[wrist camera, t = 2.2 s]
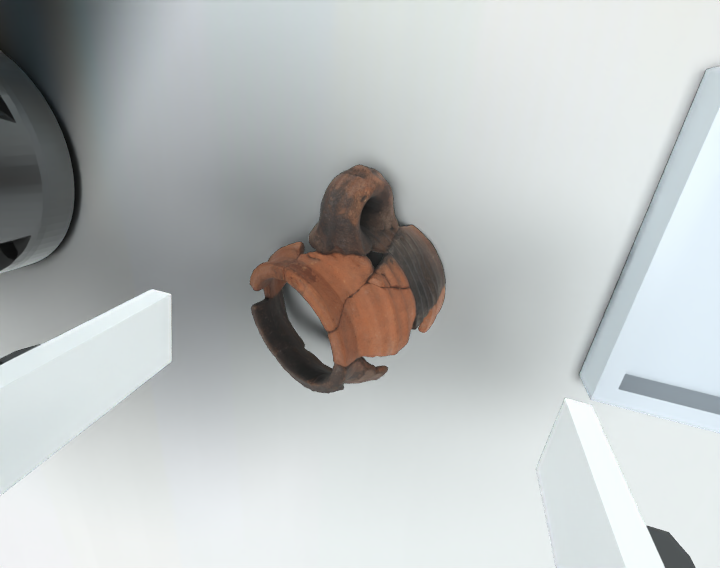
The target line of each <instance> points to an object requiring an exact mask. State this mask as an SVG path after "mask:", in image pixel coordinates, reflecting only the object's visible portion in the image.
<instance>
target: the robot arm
mask: <svg viewBox="0 0 720 568" xmlns="http://www.w3.org/2000/svg"><path fill="white" fill-rule="evenodd" d="M73 208H74V176H73V169H72V164H71V159H70V155H69V151H68V148H67V145H66V142H65V139H64V136H63V133H62V131H61V129H60V126H59V124H58V122H57V120H56V118H55V116H54V114H53V112H52V110H51V108H50V107H49V105H48V103H47V102H46V100H45V98H44V97H43V95H42V94H41V92H40V91H39V90H38V88H37V87H36V86H35V84H34V83H33V82H32V80H31V79H30V78H29V77H28V76H27V75H26V73H25V72H24V71H23V70H22V69H21V68H20V67H19V66H18V65H17V64H16V63H15V62H14V61H12V60H11V59H10V58H9V57H8V56H7V55H5V54H4V53H3V52H2V51H0V273H3V272H7V271H11V270H14V269H17V268H20V267H23V266H27V265H30V264H33V263H36V262H38V261H40V260H42V259H44V258H46V257H47V256H48V255H50V254H51V253H52V252H53V251H54V250H55V249H56V248H57V247H58V246H59V244H60V243H61V242H62V240H63V238H64V237H65V235H66V233H67V230H68V228H69V225H70V222H71V218H72V214H73ZM171 362H172V319H171V294H169V293H165V292H162V291H158V290H154V289H151V290H149V291H147V292H145V293H143V294H141V295H139V296H137V297H135V298H133V299H131V300H129V301H127V302H125V303H123V304H121V305H119V306H117V307H115V308H113V309H111V310H109V311H107V312H105V313H103V314H101V315H99V316H97V317H95V318H93V319H91V320H89V321H87V322H85V323H83V324H81V325H79V326H77V327H75V328H73V329H71V330H69V331H67V332H65V333H63V334H61V335H59V336H57V337H55V338H53V339H51V340H49V341H47V342H45V343H43V344H39V345H35V346H32V347H28V348H25V349H21V350H18V351H15V352H13V353H11V354H9V355H7V356H5V357H3V358H1V359H0V496H1V495H2V494H3V493H4V492H6V491H7V490H8V489H10V488H11V487H12V486H13V485H15V484H16V483H17V482H19V481H20V480H21V479H22V478H24V477H25V476H26V475H27V474H29V473H30V472H31V471H33V470H34V469H35V468H36V467H38V466H39V465H40V464H42V463H43V462H44V461H45V460H47V459H48V458H49V457H51V456H52V455H53V454H54V453H56V452H57V451H58V450H59V449H61V448H62V447H63V446H65V445H66V444H67V443H68V442H70V441H71V440H72V439H74V438H75V437H76V436H77V435H79V434H80V433H81V432H82V431H84V430H85V429H86V428H88V427H89V426H90V425H91V424H93V423H94V422H95V421H97V420H98V419H99V418H100V417H102V416H103V415H104V414H106V413H107V412H108V411H109V410H111V409H112V408H113V407H114V406H116V405H117V404H118V403H120V402H121V401H122V400H123V399H125V398H126V397H127V396H129V395H130V394H131V393H132V392H134V391H135V390H136V389H137V388H139V387H140V386H141V385H143V384H144V383H145V382H146V381H148V380H149V379H150V378H152V377H153V376H154V375H155V374H157V373H158V372H159V371H161V370H162V369H163V368H164V367H166V366H167V365H168V364H169V363H171ZM536 471H537V476H538V481H539V486H540V491H541V496H542V501H543V506H544V511H545V516H546V521H547V526H548V531H549V536H550V541H551V546H552V551H553V556H554V561H555V566H556V568H695V566H694V564H693V562H692V560H691V558H690V556H689V555H688V554H687V553H686V552H685V550H684V549H683V548H682V547H681V546H680V545H679V543H678V542H677V541H676V540H675V539H674V538H673V537H672V535H671V534H670V533H669V532H666V531H663V530H660V529H656V528H653V527H650V526H646V524H645V522H644V520H643V518H642V515H641V513H640V511H639V509H638V507H637V504H636V502H635V500H634V498H633V495H632V493H631V491H630V489H629V486H628V484H627V482H626V480H625V478H624V475H623V473H622V471H621V469H620V466H619V464H618V462H617V460H616V457H615V455H614V453H613V451H612V449H611V446H610V444H609V442H608V440H607V437H606V435H605V433H604V431H603V428H602V426H601V424H600V422H599V420H598V417H597V415H596V413H595V411H594V408H593V406H592V405H590V404H587V403H583V402H579V401H575V400H571V399H568V398H565V399H564V401H563V404H562V406H561V408H560V411H559V413H558V416H557V418H556V421H555V423H554V425H553V428H552V430H551V433H550V435H549V438H548V440H547V442H546V445H545V447H544V450H543V452H542V455H541V457H540V460H539V462H538V464H537V467H536Z"/></svg>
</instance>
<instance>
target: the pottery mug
mask: <svg viewBox="0 0 720 568" xmlns="http://www.w3.org/2000/svg"><path fill="white" fill-rule="evenodd" d="M309 243H310V245H311V246H312V247H313V248H314V249H315V250H316V251H314V252H309V253H307V254H304V249H305V246H304V244H303V243H302V242H296V243H292V244H289V245H287V246H284V247H281V248H280V249H279V250H277V251H276V252H275V253H274V254H273V255H272V256H271V257H270V258H269V260H268V262H265V263H262V264H260V265H259V266H257V267H256V269H254V270H253V273H252V275H251V278H250V285H251V286H252V288H253V290H255V291H259V290H261V289H263V288H264V294H265V299H264V300H262V301H260V302H258V303H256V304H254V305H253V306H252V307H251V311H252V315H253V318H254V321H255V324H256V326H257V328H258V330H259V333H260V335H261V336H262V338H263V340H264V342H265V344H266V345H267V347H268V348H269V350H270V351H271V353H272V354H273V355H274V356H275V357H276V359H277V361H278V362H279V363H280V364H281V366H282V367H283V368H284V369H285V370H286V371H287V372H288V373H289V374H290V375H291V376H292V377H293V378H294V379H295V380H297V381H298V382H299V383H301V384H302V385H303V386H304V387H306V388H309V389H311V390H312V391H317V392H321V393H330V392H335V391H338V390H343V389H344V386H343V384H344V383H349V384H350V383H362V382H366V381H370V380H377V379H378V378H380V377H382V376H383V375H384V374H385V373H386V372H387V370H388V367H386V366H377V367H375V366H374V365H371V364H369V363H368V362H366V360H365V359H364V358H363V356H366V357H375V356H380V357H382V356H388V355H395V354H397V353H398V351H399V350H401V349H402V348H403V347H404V346H405V345H406V344H407V343H408V340H409V335H410V331H411V329H413V330H414V329H416V328H417V327H418V326H419V328H418V330H419V331H420V332H423V333H425V332H426V331H427V330H428V329H429V328H430V327H431V325H432V324H433V322H434V320H435V318H436V315H437V314H438V313H439V311H440V309H441V307H442V305H443V302H444V297H445V275H444V271H443V266H442V263H441V261H440V259H439V256H438V254H437V252H436V250H435V248H434V246H433V245H432V243H431V242H430V241H429V240H428V239H427V238H426V237H425V236H424V235H423V233H422V232H420V231H419V230H418V229H417V228H416V227H415V226H413V225H409V226H407V227H406V226H402V227H400V226H399V224H398V221H397V219H396V217H395V213H394V207H393V193H392V189H391V187H390V185H389V183H388V182H387V181H386V180H385V179H384V177H383V176H382V175H381V173H380V172H378V171H377V170H375V169H373V168H368V167H366V166H363V165H356V166H354V167H352V168H350V169H349V170H346V171H344V172H342V173H340V174H339V175H338V176H336V177H335V178H334V179H333V180H332V182H331V183H330V184H329V186H328V187H327V189H326V191H325V194H324V196H323V199H322V202H321V209H320V219H319V222H318V223H317V224H316V225H315V226H314V228H313V229H312V231H311V232H310V234H309ZM370 251H374V252H378V253H382V254H383V258H382V259H381V261H380V263H379V264H378V266H377V267H376V268H374V267H373V265H372V262H371V260H370V259H369V258H368V257H367V256H366V255H367V254H368V253H370ZM286 282H287V283H288V284H290V285H291V286H292V287H293V288H295V289H296V290H297V291H298V292H299V293H300V294H301V295H302V296H303V298H304V299H305V300H306V301H307V302H308V303H309V305H310V306H311V307H312V308H313V310H314V311H315V313H316V314H317V316H318V317H319V319H320V321H321V323H322V325H323V326H324V328H325V330H326V331H327V333H328V338H329V341H330V344H331V348H332V353H333V361H334V367H333V369H332V368H330V367H328V366H326V365H324V364H323V363H322V362H321V361H320V360H319V359H318V358H317V357H316V356H315V355H313V354H312V353H311V352H309V351H307V350H306V349H305V348H304V347H305V344H304V342H303V340H302V339H301V337H300V336H299V335H298V334H297V332H296V331H295V329H294V328H293V326H292V325H291V323H290V321H289V319H288V316H287V313H286V308H285V301H284V296H283V289H282V288H283V286H284V285H285V284H286Z"/></svg>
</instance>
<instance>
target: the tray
mask: <svg viewBox="0 0 720 568" xmlns="http://www.w3.org/2000/svg"><path fill="white" fill-rule="evenodd" d="M579 376H580V378H581V380H582V382H583V384H584V386H585V389H586V391H587V393H588V395H589V397H590V400H593V401H597V402H601V403H605V404H609V405H613V406H616V407H620V408H624V409H628V410H632V411H636V412H640V413H643V414H647V415H651V416H655V417H659V418H663V419H667V420H670V421H674V422H678V423H682V424H686V425H690V426H694V427H697V428H701V429H705V430H709V431H713V432H717V433H720V66H718V67H714V68H709V69H706V72H705V74H704V76H703V79H702V81H701V84H700V86H699V88H698V91H697V93H696V96H695V98H694V100H693V103H692V105H691V108H690V110H689V112H688V115H687V117H686V120H685V122H684V124H683V127H682V129H681V132H680V134H679V136H678V139H677V141H676V144H675V146H674V148H673V151H672V153H671V156H670V158H669V160H668V163H667V165H666V168H665V170H664V172H663V175H662V177H661V179H660V182H659V184H658V187H657V189H656V191H655V194H654V196H653V199H652V201H651V203H650V206H649V208H648V211H647V213H646V215H645V218H644V220H643V223H642V225H641V227H640V230H639V232H638V235H637V237H636V239H635V242H634V244H633V247H632V249H631V251H630V254H629V256H628V259H627V261H626V263H625V266H624V268H623V271H622V273H621V275H620V278H619V280H618V283H617V285H616V287H615V290H614V292H613V295H612V297H611V299H610V302H609V304H608V306H607V309H606V311H605V314H604V316H603V318H602V321H601V323H600V326H599V328H598V330H597V333H596V335H595V338H594V340H593V342H592V345H591V347H590V350H589V352H588V354H587V357H586V359H585V362H584V364H583V366H582V369H581V371H580V374H579Z"/></svg>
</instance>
